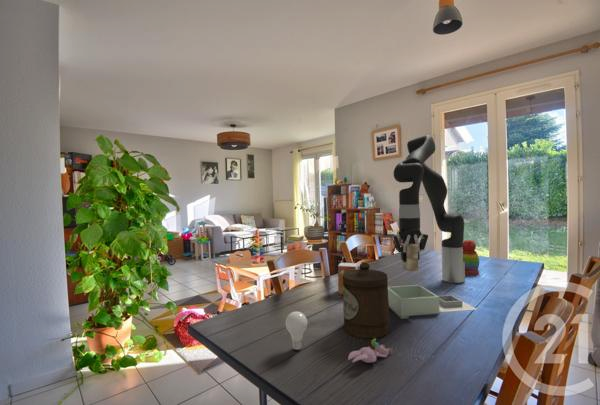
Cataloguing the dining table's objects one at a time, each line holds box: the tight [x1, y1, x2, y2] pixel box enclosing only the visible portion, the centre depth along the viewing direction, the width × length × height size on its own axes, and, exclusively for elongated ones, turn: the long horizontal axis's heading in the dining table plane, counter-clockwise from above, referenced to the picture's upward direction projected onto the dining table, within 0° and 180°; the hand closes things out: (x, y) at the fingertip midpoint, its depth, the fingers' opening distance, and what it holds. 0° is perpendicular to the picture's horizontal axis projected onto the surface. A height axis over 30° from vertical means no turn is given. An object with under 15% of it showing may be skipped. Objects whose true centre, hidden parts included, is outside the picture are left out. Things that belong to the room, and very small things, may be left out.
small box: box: [337, 262, 359, 295], centre depth 133 cm, size 8×6×13 cm
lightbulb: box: [285, 311, 308, 351], centre depth 86 cm, size 6×6×11 cm
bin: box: [388, 284, 440, 320], centre depth 112 cm, size 14×14×7 cm
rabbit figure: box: [347, 338, 393, 364], centre depth 79 cm, size 6×6×15 cm
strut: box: [402, 243, 419, 272], centre depth 111 cm, size 4×4×10 cm
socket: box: [437, 294, 478, 313], centre depth 114 cm, size 14×14×3 cm
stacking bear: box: [462, 239, 480, 276], centre depth 159 cm, size 11×10×18 cm
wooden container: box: [342, 261, 390, 339], centre depth 98 cm, size 15×15×22 cm
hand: (410, 261), depth 111 cm, fingers closed on strut, 4 cm apart
